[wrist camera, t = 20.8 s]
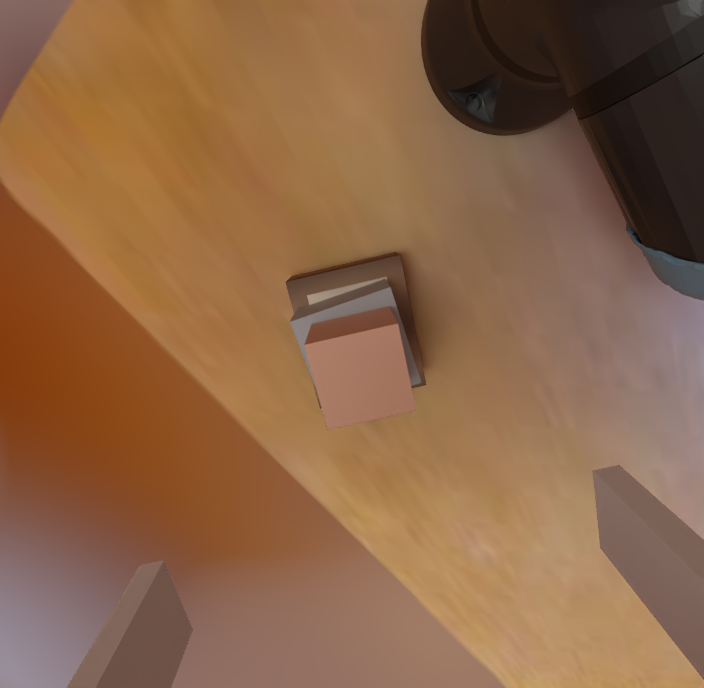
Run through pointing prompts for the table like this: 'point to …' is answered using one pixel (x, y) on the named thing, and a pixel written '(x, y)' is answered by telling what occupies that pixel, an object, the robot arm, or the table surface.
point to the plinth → (352, 277)
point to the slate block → (347, 305)
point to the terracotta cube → (359, 368)
